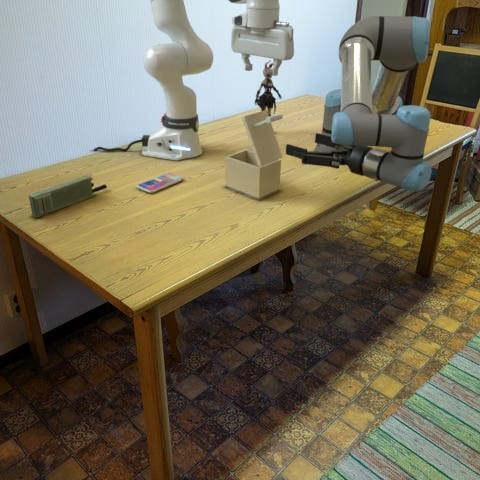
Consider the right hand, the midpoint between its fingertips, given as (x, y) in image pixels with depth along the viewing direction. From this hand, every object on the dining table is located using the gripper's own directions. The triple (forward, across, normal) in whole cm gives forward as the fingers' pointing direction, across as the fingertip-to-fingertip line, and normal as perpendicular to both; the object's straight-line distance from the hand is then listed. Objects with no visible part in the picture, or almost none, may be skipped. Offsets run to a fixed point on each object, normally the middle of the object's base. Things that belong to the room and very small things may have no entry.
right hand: (301, 143), depth 142 cm
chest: (+18, 0, -20) cm, 26 cm away
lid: (+15, 0, -2) cm, 15 cm away
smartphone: (+42, -18, -20) cm, 50 cm away
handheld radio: (+50, -45, -20) cm, 70 cm away
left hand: (+16, 0, +17) cm, 23 cm away
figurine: (+52, +47, -20) cm, 72 cm away
